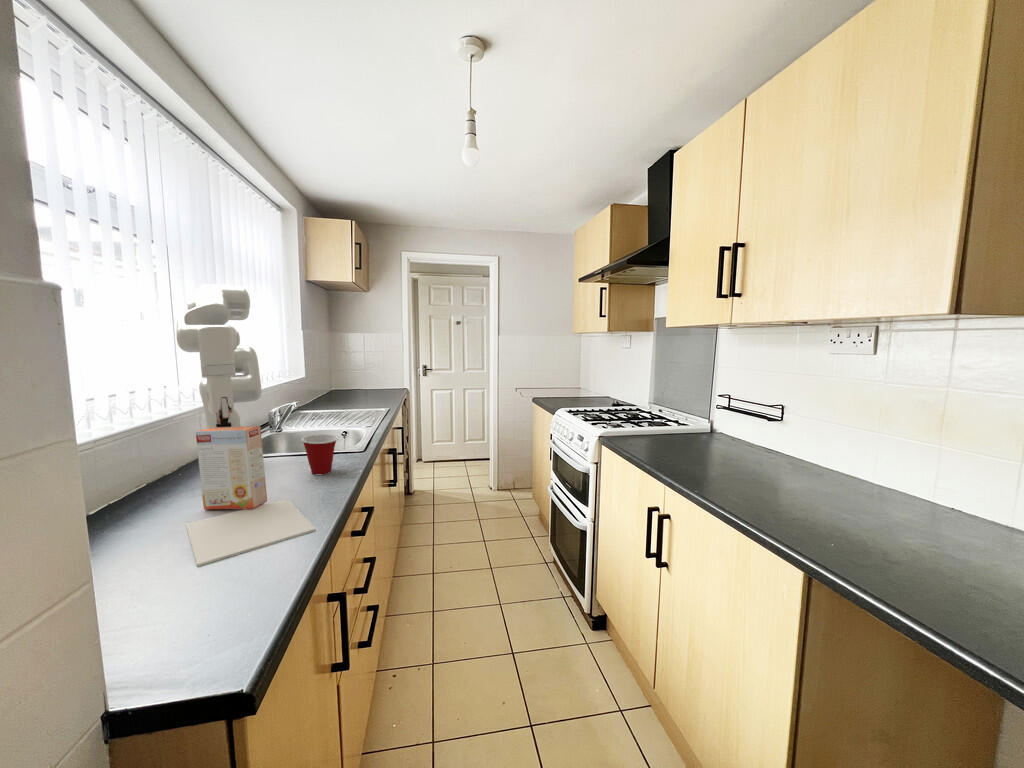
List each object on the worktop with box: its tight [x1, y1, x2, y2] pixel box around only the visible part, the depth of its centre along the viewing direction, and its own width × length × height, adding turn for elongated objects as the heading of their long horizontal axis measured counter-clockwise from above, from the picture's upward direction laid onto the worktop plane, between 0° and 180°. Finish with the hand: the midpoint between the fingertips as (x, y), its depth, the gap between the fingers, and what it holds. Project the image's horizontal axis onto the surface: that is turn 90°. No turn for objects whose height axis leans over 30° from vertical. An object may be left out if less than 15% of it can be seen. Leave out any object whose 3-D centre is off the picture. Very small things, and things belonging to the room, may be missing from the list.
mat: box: [185, 498, 316, 567], centre depth 98 cm, size 24×22×1 cm
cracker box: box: [195, 425, 268, 510], centre depth 109 cm, size 14×6×21 cm, turn 84°
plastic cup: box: [301, 433, 339, 475], centre depth 137 cm, size 11×11×12 cm
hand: (224, 437), depth 115 cm, fingers closed
